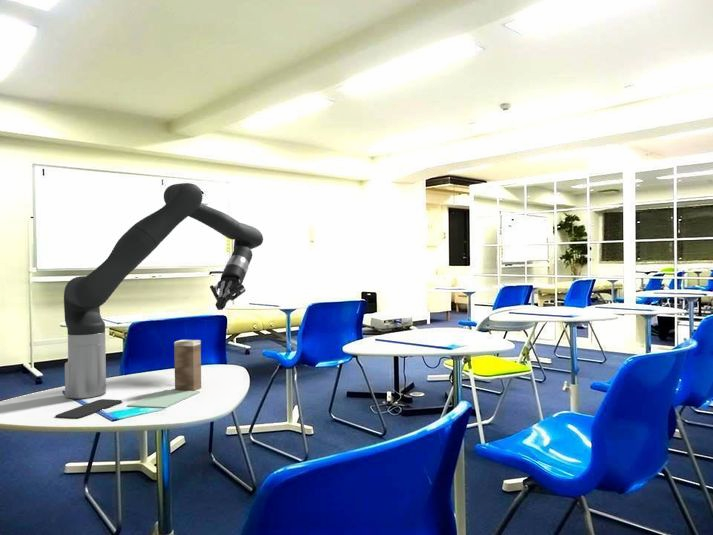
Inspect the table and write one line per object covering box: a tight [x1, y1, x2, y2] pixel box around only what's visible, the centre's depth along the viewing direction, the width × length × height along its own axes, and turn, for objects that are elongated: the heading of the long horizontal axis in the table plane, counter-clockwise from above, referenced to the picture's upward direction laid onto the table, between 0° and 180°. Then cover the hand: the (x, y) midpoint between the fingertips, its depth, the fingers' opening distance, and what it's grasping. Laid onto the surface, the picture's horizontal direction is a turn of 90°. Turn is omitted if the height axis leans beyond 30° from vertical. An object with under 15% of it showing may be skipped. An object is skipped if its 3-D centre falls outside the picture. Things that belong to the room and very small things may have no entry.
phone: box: [54, 398, 123, 420], centre depth 120 cm, size 7×1×15 cm
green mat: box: [126, 389, 201, 409], centre depth 129 cm, size 11×16×1 cm
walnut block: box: [173, 339, 202, 391], centre depth 140 cm, size 6×4×14 cm, turn 78°
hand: (219, 308), depth 158 cm, fingers closed
